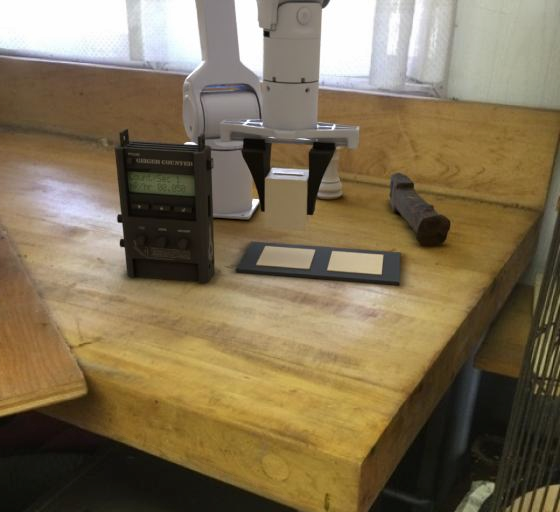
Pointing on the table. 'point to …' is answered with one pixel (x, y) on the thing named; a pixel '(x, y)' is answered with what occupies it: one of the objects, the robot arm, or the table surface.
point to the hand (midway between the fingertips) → (287, 210)
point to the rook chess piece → (331, 180)
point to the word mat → (321, 263)
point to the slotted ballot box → (286, 199)
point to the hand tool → (417, 212)
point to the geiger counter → (166, 209)
